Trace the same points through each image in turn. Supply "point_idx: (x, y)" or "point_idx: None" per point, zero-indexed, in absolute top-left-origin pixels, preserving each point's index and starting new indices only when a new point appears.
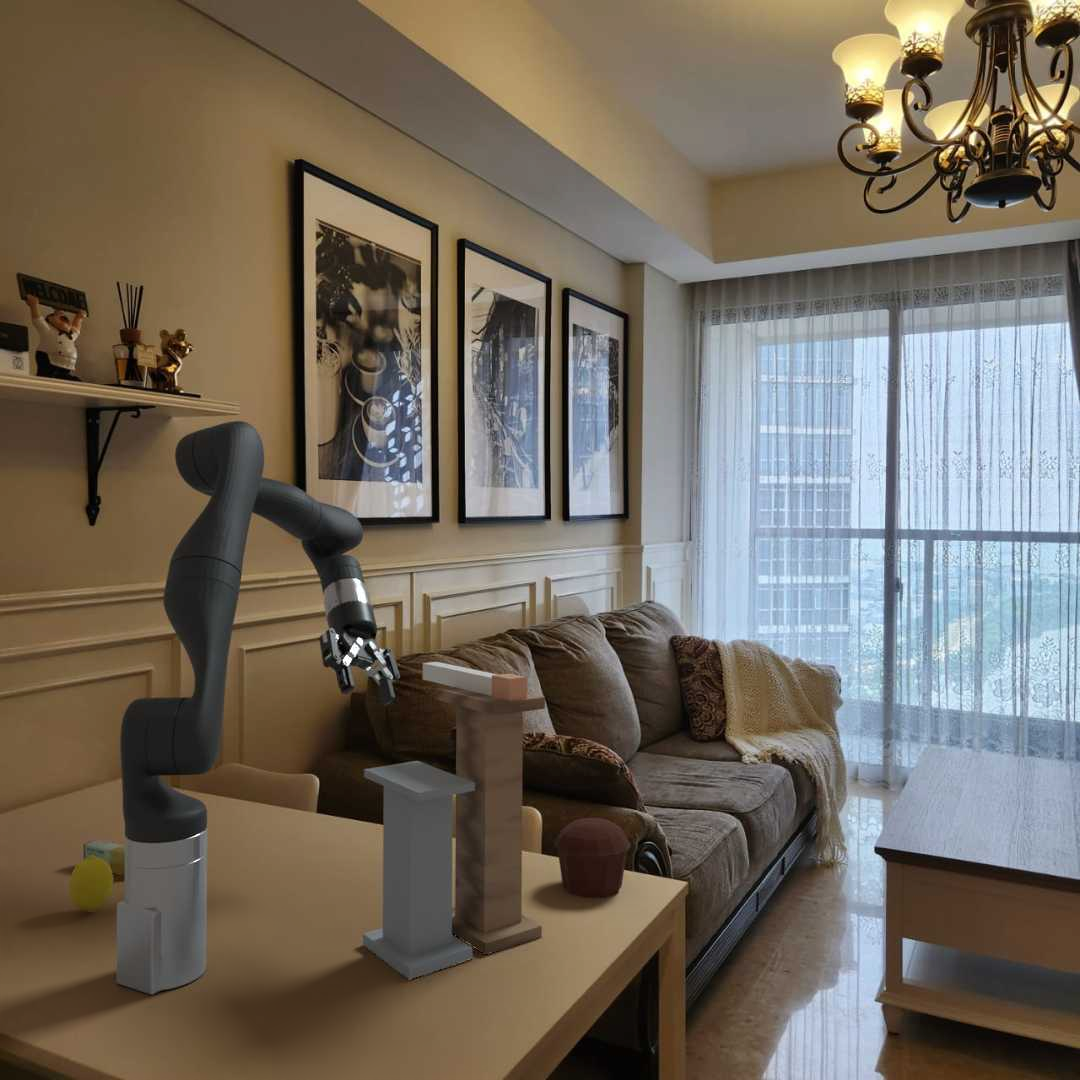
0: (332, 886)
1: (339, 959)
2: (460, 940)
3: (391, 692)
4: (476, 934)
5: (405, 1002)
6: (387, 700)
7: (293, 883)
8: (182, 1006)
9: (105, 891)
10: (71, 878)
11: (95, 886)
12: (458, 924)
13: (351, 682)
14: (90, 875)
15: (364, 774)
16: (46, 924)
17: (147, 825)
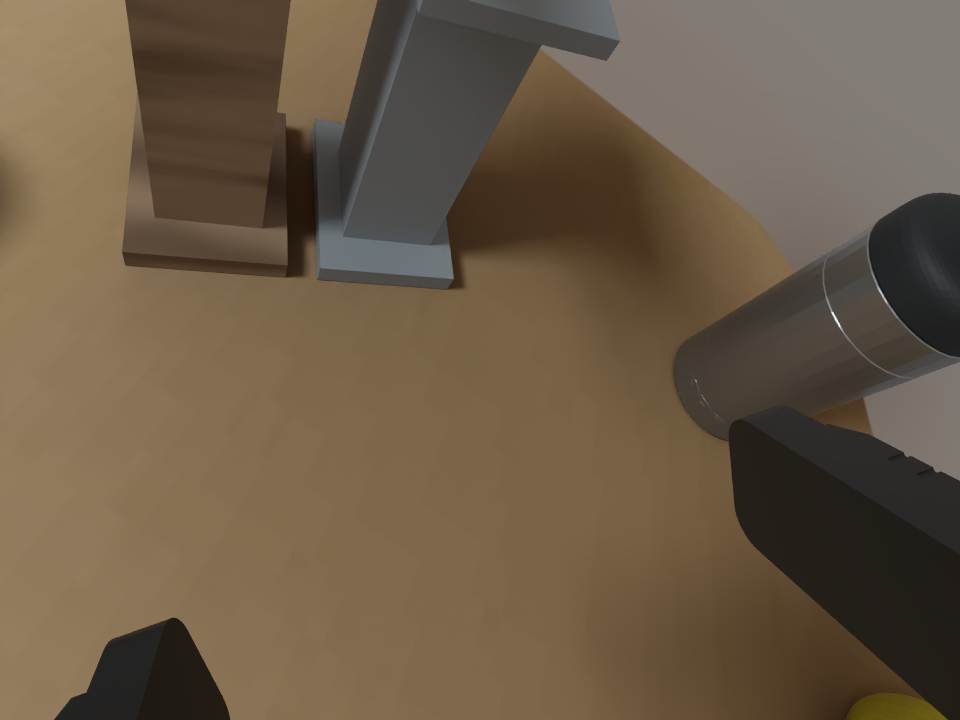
0: (388, 620)
1: (497, 271)
2: (317, 149)
3: (126, 683)
4: (277, 146)
5: None
6: (198, 670)
7: (469, 700)
8: (699, 288)
9: (867, 701)
10: None
11: (896, 695)
12: (280, 196)
13: (799, 421)
14: (927, 703)
15: (611, 50)
16: None
17: None
